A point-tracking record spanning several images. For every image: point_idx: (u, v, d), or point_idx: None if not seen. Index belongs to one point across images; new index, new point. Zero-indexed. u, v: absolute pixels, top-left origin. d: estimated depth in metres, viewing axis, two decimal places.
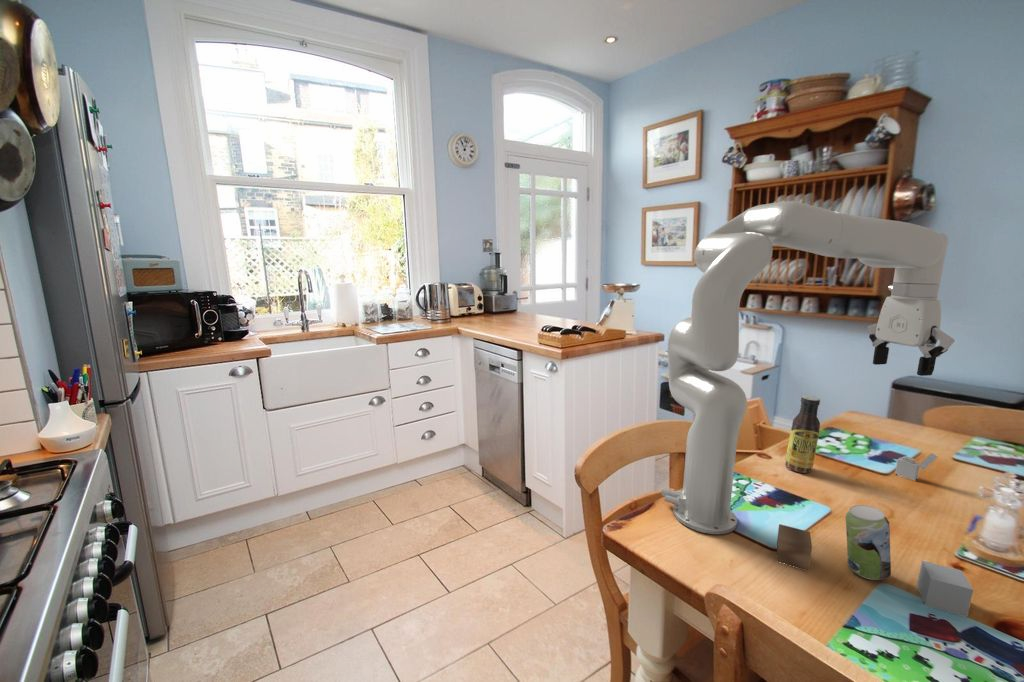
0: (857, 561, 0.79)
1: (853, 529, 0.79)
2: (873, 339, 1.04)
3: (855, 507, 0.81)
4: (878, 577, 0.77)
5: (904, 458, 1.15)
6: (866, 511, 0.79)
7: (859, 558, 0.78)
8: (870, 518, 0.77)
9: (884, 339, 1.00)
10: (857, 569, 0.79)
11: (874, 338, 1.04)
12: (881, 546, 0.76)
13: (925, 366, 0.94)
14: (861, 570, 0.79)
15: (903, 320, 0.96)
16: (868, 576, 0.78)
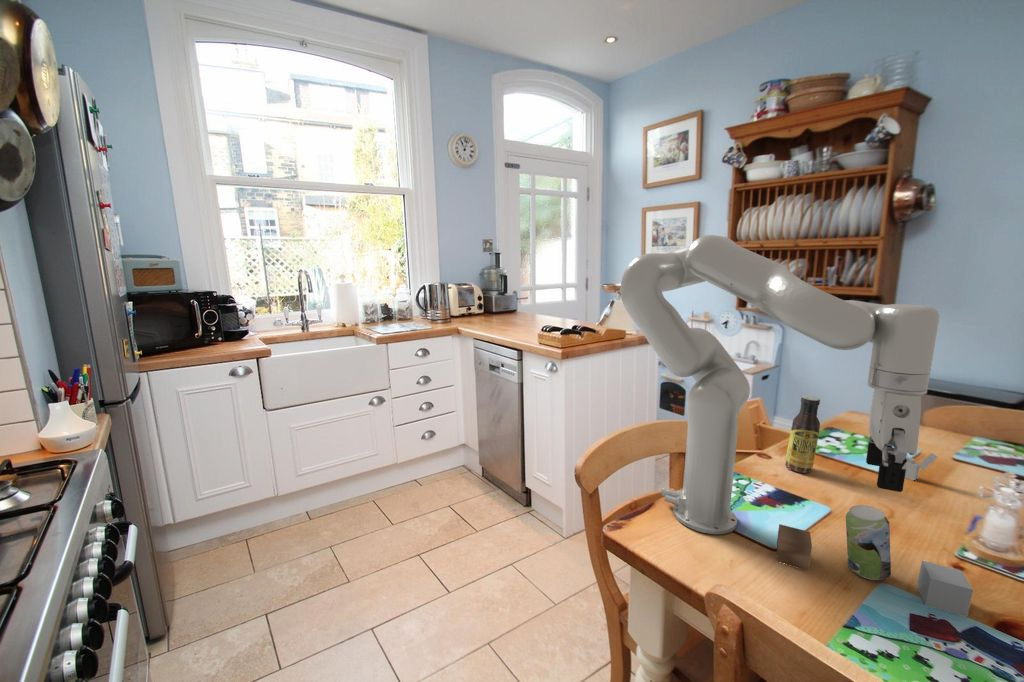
0: (857, 561, 0.79)
1: (853, 529, 0.79)
2: None
3: (855, 507, 0.81)
4: (878, 577, 0.77)
5: None
6: (866, 511, 0.79)
7: (859, 558, 0.78)
8: (870, 518, 0.77)
9: None
10: (857, 569, 0.79)
11: None
12: (881, 546, 0.76)
13: None
14: (861, 570, 0.79)
15: None
16: (868, 576, 0.78)
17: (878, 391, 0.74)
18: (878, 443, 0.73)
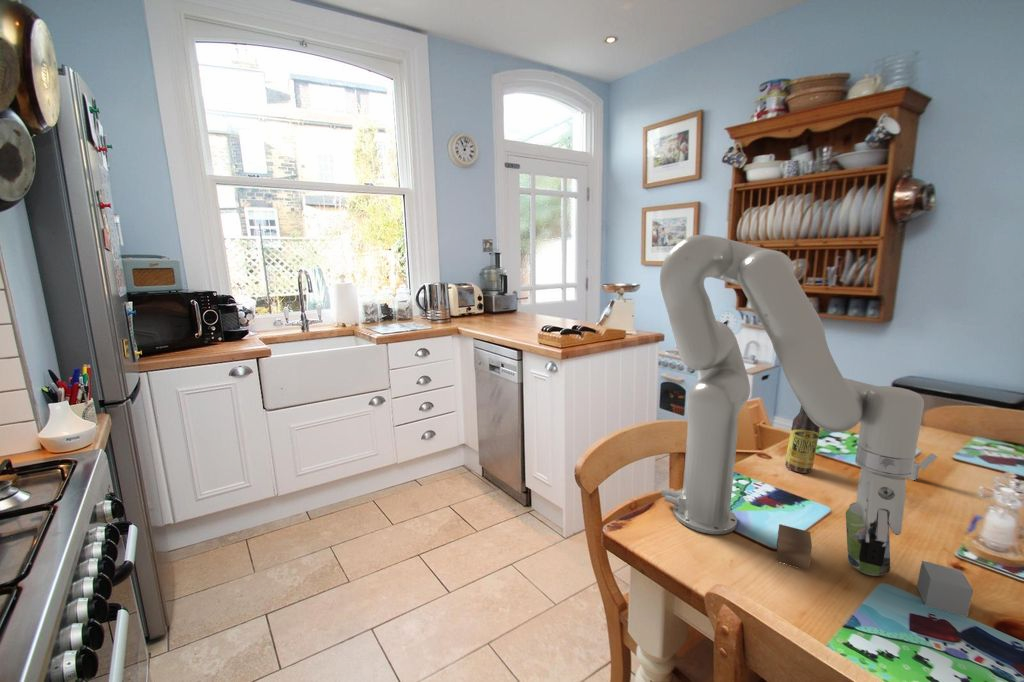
0: (857, 557, 0.80)
1: (853, 526, 0.79)
2: None
3: (855, 504, 0.82)
4: (878, 573, 0.78)
5: None
6: None
7: None
8: None
9: None
10: (857, 565, 0.80)
11: None
12: None
13: None
14: (861, 566, 0.80)
15: None
16: (868, 572, 0.79)
17: (865, 470, 0.77)
18: (864, 521, 0.76)
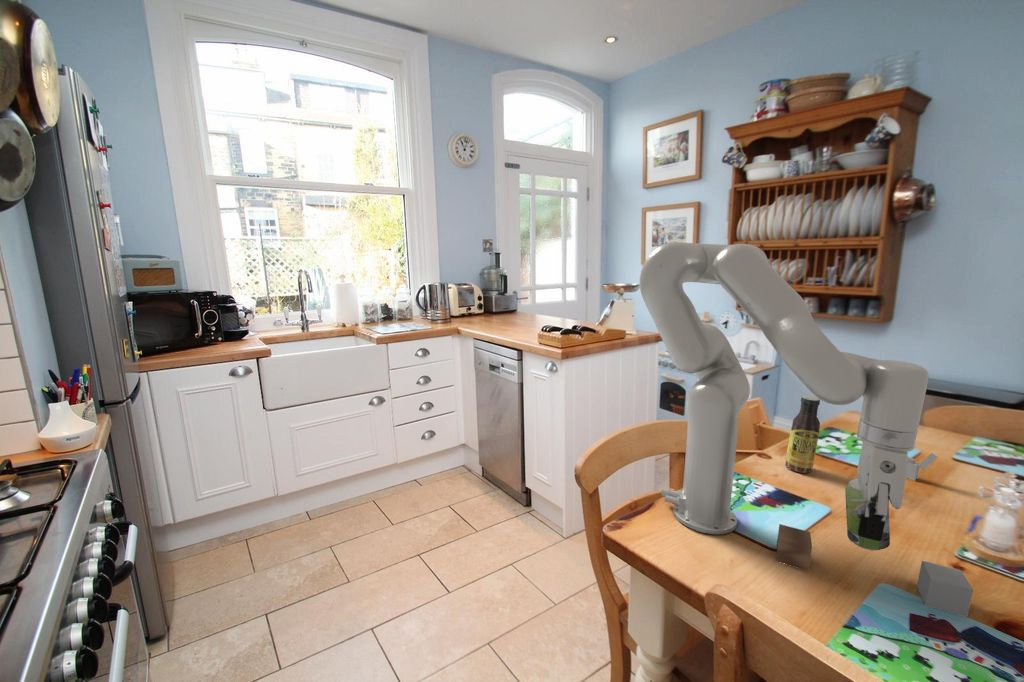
0: (856, 532, 0.80)
1: (853, 501, 0.79)
2: None
3: (854, 480, 0.81)
4: (877, 547, 0.78)
5: None
6: None
7: None
8: None
9: None
10: (856, 540, 0.80)
11: None
12: None
13: None
14: (860, 541, 0.79)
15: None
16: (867, 547, 0.79)
17: (867, 444, 0.76)
18: (864, 495, 0.75)
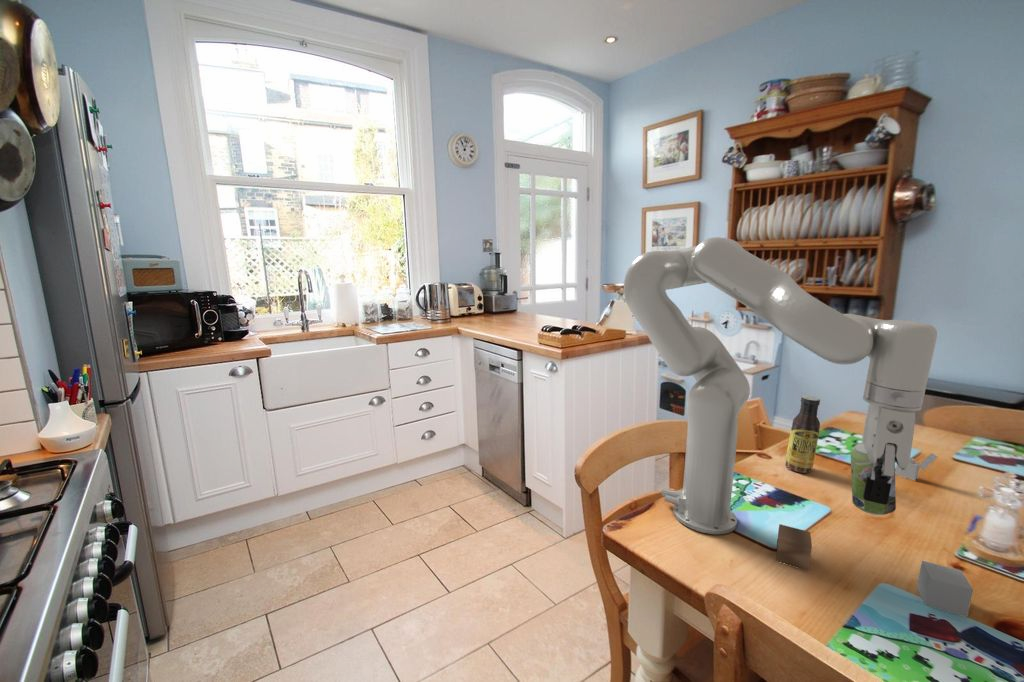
0: (861, 497, 0.78)
1: (858, 465, 0.78)
2: None
3: (860, 444, 0.80)
4: (883, 512, 0.77)
5: None
6: None
7: None
8: None
9: None
10: (862, 505, 0.79)
11: None
12: None
13: None
14: (866, 506, 0.78)
15: None
16: (873, 511, 0.78)
17: (873, 406, 0.75)
18: (871, 457, 0.74)
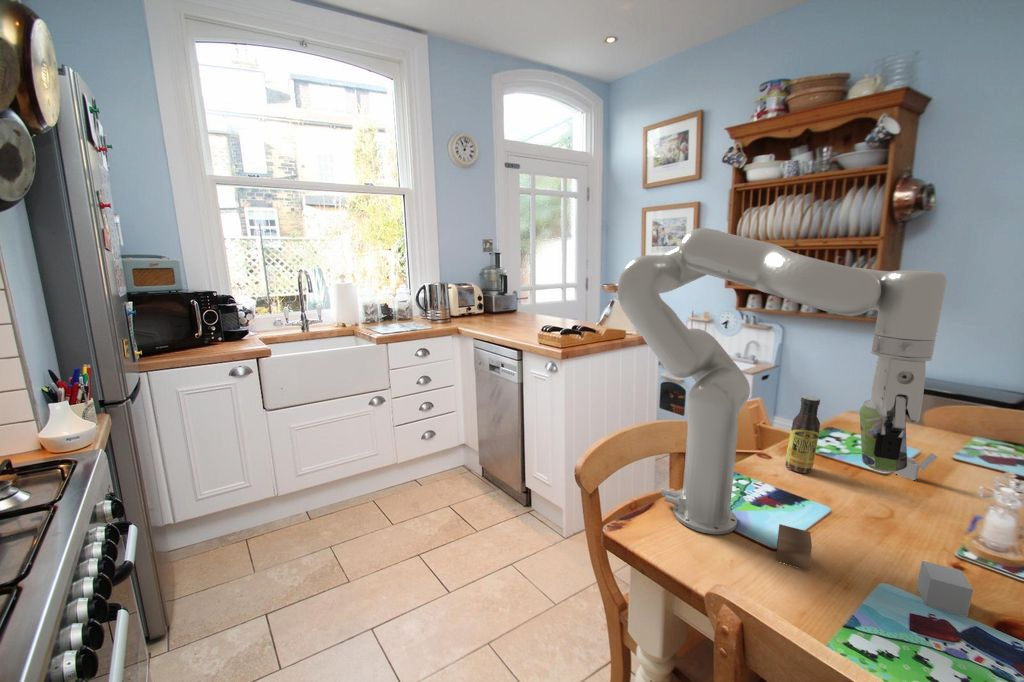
0: (872, 454, 0.77)
1: (868, 421, 0.76)
2: None
3: (869, 401, 0.78)
4: (894, 468, 0.75)
5: None
6: None
7: None
8: None
9: None
10: (872, 463, 0.77)
11: None
12: None
13: None
14: (876, 463, 0.76)
15: None
16: (884, 468, 0.76)
17: (882, 358, 0.73)
18: (881, 411, 0.72)
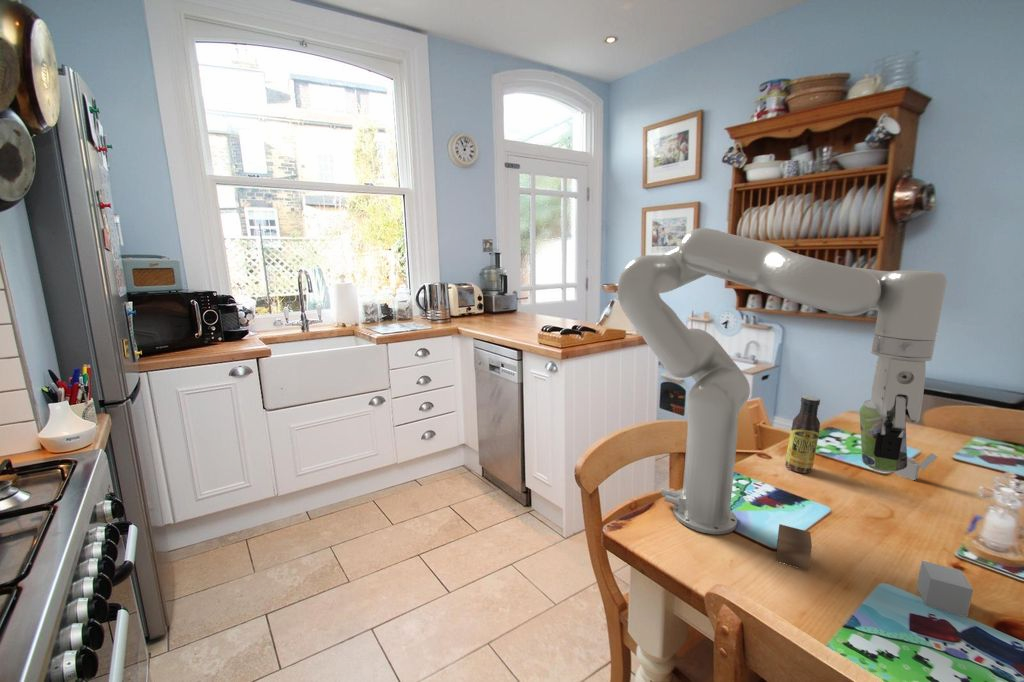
0: (872, 454, 0.77)
1: (868, 421, 0.76)
2: None
3: (869, 401, 0.78)
4: (894, 468, 0.75)
5: None
6: None
7: None
8: None
9: None
10: (872, 463, 0.77)
11: None
12: None
13: None
14: (876, 463, 0.76)
15: None
16: (884, 468, 0.76)
17: (882, 358, 0.73)
18: (881, 411, 0.72)
